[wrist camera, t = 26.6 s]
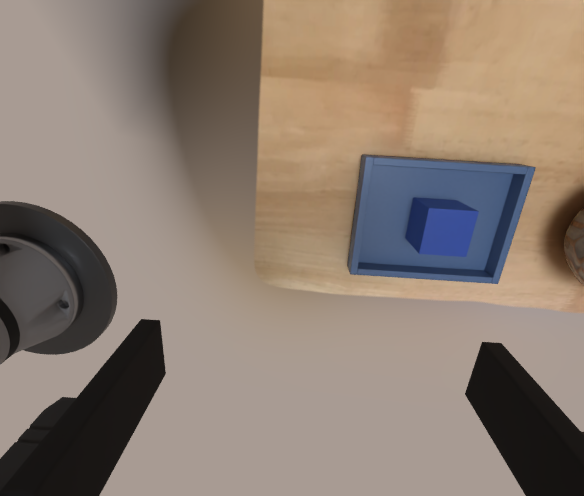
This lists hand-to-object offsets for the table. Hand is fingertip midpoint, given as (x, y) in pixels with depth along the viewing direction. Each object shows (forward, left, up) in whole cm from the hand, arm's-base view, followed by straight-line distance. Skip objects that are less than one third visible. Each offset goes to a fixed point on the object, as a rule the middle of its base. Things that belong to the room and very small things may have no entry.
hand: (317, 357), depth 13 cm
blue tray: (+9, +11, -27) cm, 30 cm away
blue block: (+9, +11, -26) cm, 30 cm away
